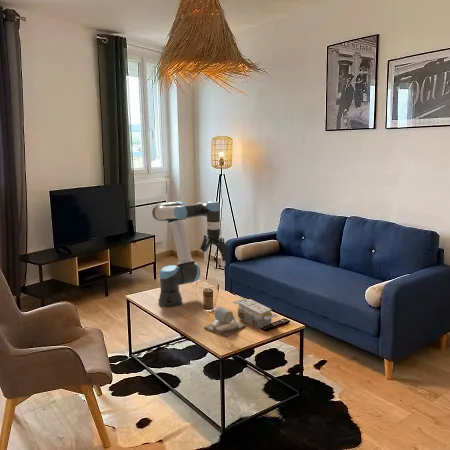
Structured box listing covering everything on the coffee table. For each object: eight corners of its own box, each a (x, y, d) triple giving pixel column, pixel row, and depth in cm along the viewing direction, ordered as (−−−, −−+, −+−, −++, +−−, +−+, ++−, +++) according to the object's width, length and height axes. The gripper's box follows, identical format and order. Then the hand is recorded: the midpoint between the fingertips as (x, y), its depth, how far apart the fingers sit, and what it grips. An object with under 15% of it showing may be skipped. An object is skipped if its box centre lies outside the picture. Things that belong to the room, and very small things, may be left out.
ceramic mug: (225, 326, 242) (224, 312, 241) (214, 322, 248) (214, 308, 247) (238, 320, 250) (238, 307, 248) (227, 316, 255) (227, 303, 254)
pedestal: (204, 329, 248) (204, 322, 247) (223, 319, 260) (223, 313, 259) (226, 337, 238) (226, 330, 237) (245, 327, 249) (245, 320, 249)
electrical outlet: (245, 310, 271) (245, 295, 268) (279, 328, 249) (280, 311, 247) (230, 315, 263) (230, 300, 261) (264, 334, 242) (265, 317, 240)
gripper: (193, 226, 263) (194, 261, 268) (225, 232, 247) (226, 269, 251) (202, 224, 268) (203, 258, 273) (234, 230, 252) (234, 266, 257)
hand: (214, 264), depth 262 cm, fingers open, 13 cm apart
